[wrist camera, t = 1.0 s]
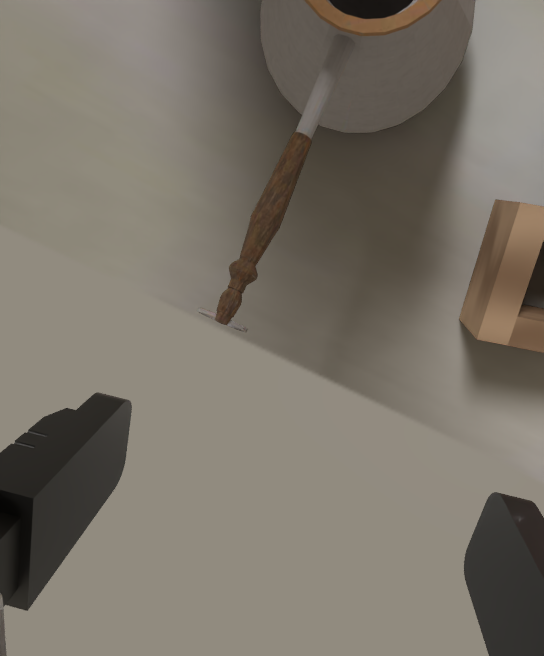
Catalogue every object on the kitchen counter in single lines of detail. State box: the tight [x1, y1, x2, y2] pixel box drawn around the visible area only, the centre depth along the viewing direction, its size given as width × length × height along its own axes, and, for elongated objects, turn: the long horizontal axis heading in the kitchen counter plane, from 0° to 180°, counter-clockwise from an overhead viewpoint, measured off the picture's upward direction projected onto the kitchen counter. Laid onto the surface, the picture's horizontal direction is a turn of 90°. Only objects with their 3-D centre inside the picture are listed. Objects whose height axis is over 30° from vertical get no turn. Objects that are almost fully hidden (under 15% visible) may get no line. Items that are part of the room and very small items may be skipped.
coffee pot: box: [197, 0, 475, 332], centre depth 24 cm, size 21×12×15 cm, turn 157°
